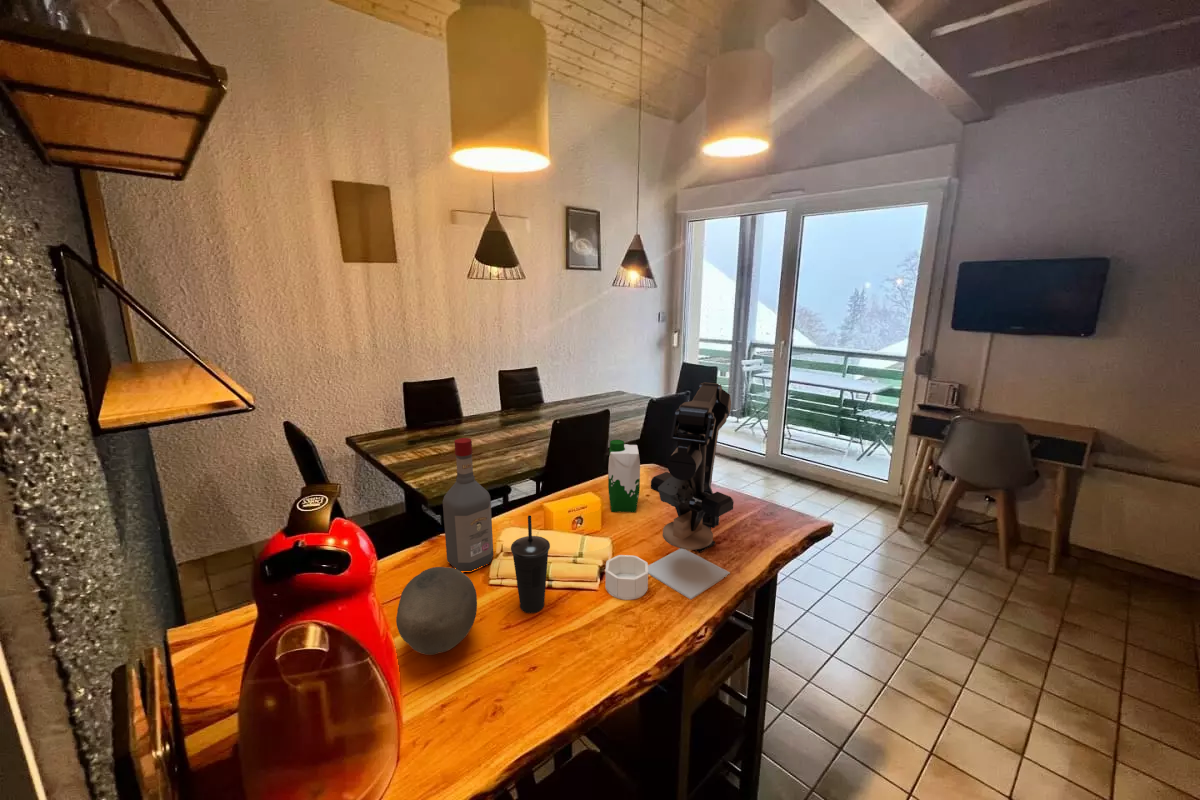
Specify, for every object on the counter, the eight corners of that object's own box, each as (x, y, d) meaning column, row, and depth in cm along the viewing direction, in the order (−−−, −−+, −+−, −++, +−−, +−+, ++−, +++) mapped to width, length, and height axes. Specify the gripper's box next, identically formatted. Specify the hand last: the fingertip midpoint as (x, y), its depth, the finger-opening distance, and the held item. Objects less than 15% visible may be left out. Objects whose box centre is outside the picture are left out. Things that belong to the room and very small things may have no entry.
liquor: (498, 561, 116) (492, 440, 109) (463, 577, 110) (454, 450, 102) (477, 546, 122) (470, 431, 115) (443, 561, 116) (433, 440, 109)
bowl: (626, 570, 113) (627, 550, 112) (655, 588, 106) (656, 568, 105) (597, 585, 107) (597, 565, 106) (626, 606, 101) (626, 584, 99)
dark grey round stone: (384, 650, 88) (375, 576, 84) (452, 611, 99) (447, 543, 95) (426, 692, 79) (419, 612, 76) (497, 644, 90) (493, 571, 86)
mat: (681, 548, 122) (681, 547, 121) (729, 574, 111) (730, 572, 111) (642, 570, 113) (642, 568, 113) (690, 599, 102) (690, 598, 102)
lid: (684, 519, 117) (684, 500, 116) (722, 537, 109) (724, 517, 108) (652, 535, 110) (653, 514, 109) (691, 555, 102) (692, 533, 101)
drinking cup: (557, 598, 103) (555, 510, 98) (541, 621, 96) (538, 528, 91) (524, 590, 105) (521, 504, 100) (506, 613, 98) (502, 521, 93)
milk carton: (608, 500, 148) (608, 436, 143) (638, 500, 148) (639, 437, 143) (608, 513, 140) (608, 447, 135) (639, 514, 139) (641, 447, 135)
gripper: (634, 459, 107) (632, 524, 111) (703, 486, 94) (699, 559, 97) (668, 448, 114) (665, 509, 118) (737, 471, 101) (732, 540, 105)
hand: (688, 528), depth 109 cm, fingers closed on lid, 2 cm apart
